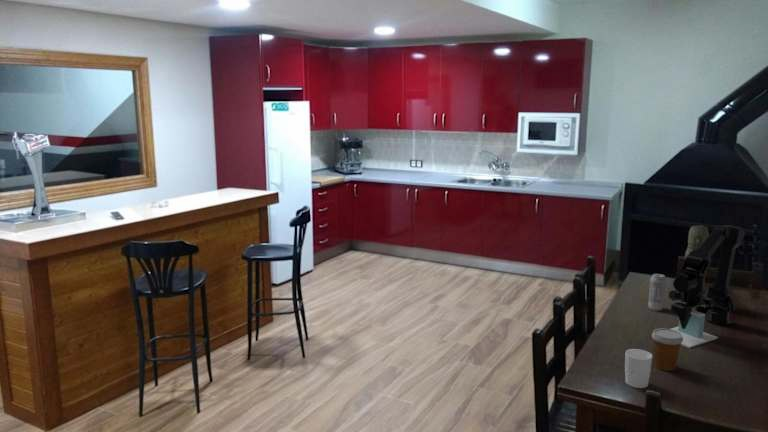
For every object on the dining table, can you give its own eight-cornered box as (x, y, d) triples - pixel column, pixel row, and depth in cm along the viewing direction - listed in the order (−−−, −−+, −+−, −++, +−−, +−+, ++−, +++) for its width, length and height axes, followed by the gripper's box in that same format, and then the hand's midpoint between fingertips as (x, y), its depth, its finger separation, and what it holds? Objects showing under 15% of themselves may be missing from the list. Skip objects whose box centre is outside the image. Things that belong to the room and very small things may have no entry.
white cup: (618, 378, 187) (620, 349, 185) (641, 376, 187) (644, 348, 185) (630, 389, 179) (633, 360, 177) (655, 388, 180) (657, 358, 178)
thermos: (702, 301, 256) (710, 224, 250) (704, 309, 246) (712, 229, 239) (680, 298, 260) (687, 222, 254) (680, 306, 250) (688, 228, 243)
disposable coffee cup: (644, 360, 199) (647, 327, 197) (672, 360, 199) (675, 327, 196) (656, 373, 190) (659, 339, 187) (685, 373, 189) (689, 339, 187)
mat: (682, 326, 228) (683, 324, 228) (717, 338, 216) (717, 336, 216) (655, 334, 220) (655, 333, 220) (689, 348, 208) (689, 346, 208)
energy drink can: (666, 309, 247) (669, 275, 244) (658, 312, 244) (661, 278, 241) (653, 305, 252) (655, 272, 249) (645, 308, 248) (647, 275, 246)
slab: (683, 329, 224) (685, 307, 222) (702, 336, 217) (705, 313, 215) (678, 330, 222) (680, 308, 221) (697, 338, 215) (700, 315, 214)
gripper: (690, 277, 227) (686, 315, 230) (659, 285, 218) (656, 324, 221) (717, 285, 218) (713, 324, 221) (687, 293, 209) (683, 334, 212)
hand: (691, 326), depth 219 cm, fingers open, 9 cm apart
